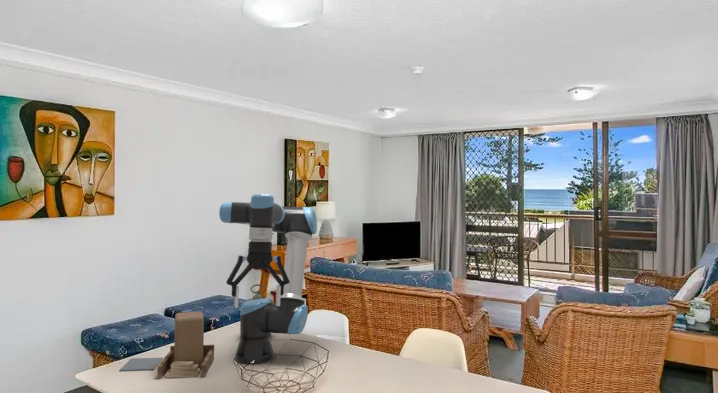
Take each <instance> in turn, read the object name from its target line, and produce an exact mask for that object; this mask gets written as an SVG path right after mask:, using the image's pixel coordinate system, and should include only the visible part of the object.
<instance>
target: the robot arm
mask: <svg viewBox="0 0 718 393" xmlns="http://www.w3.org/2000/svg"><path fill="white" fill-rule="evenodd" d="M250 198H251V199H250V202H237V201H234V202H233V201H230V202H228V201H224V202H223V203H221V204H220V207H219V211H218V212H219V219H220V221H221V222H222V223H224V224H225V223H226V224H240V225H247V226H249V231H248V232H249V234H248V240H250V241H249V242H248V248H247V250H248V253H247V256H243V255H241V254H240V255H238V256H237V261H236V263H235V265H234V267H233V269H232V270H231V272H230V274H229V276H228V278H227V279H226V284H227V285H229V286H231V297H234V303H233V304H234V305H233V306H234V308H235V309H237V308H239V297H240V295H239V294H240V293H239V292H240V286H238V285H239V284H240V283H241V281H243V279H244V278H245V277H246V276H247V275H248V274H249V273H250V272H251V271H252V270H256V271H257V270H267V271H268V272H269V273H270V275H271V276H272V277H273V279H274V280H275V281H276V283H277V284H278V285H276V290H275V291H276V293H275V296H276V297H275V303H274V302H273V303H270V302H271V301H270V299H271V298H268V299H266V298H267V297H266V298H264V297H263V299H255V300H250V301H247V302H245V301H244V302H245V303H244V302H243V303H242V304H241V306H240V313H239V315H240V321H239V322H240V324H239V327H240V328H239V331H240V332H239V333H240V335H239V336H240V337H239V342H238V345H237V347H236V350H235V354H234V357H235V358H234V360H235V361H236V362H238V363H241V364H244V365H245V364H246V365H249V364H248V363H250V362H252V361H253V360H255V361H254V364H253V365H255V364H262V363H267V362H269V361H271V360H272V359H273V358H274V348H273V345H272V342H271V338H270V337H269V333H271V334H282V335H283V334H284V335H289V336H290V335H299V334H301V333H302V332H303V331H304V328H305V327H306V324H307V321H308V320H307V319H308V312H309V307H308V305H306V304H305V302H306V301H305V299H304V298H303V297H302V296H303V295H302V294H303V287H304V277H305V269H306V268H305V267H306V260H307V259H306V258H307V251H308V243H309V242H310V240H312V239H313V238H312V237H313V235H315V234H317V232H318V220H317V215H316V211H315V209H314V208H312V207H305V206H282V205H280V204H278V203H277V202H275V197H274V196H273V195H271V194H267V193H266V194H263V193H262V194H261V193H256V194H253V195H252V196H251V197H250ZM273 232H274V233H278V234H284V236H285V237H286V239H287V244H286V245H287V246H286V251H285V261H284V266H283V263H282V256H280V255H276V256H273V255H272V252H273V250H272V249H273V243H272V242H271V241H272V240H273ZM245 261H247V263H248V264H247V265H246V267H245V268H244V269H243V271H241V273H239V275H238V276H237V274H238V272H239V270H240V268H241V266H242V264H244V263H245ZM272 261H273V262H274V263H275V264H276V267H277V268H278V271H279V272H280V273H279V274H280V275H281V277H280V276H279V275H278V274H277V272H276V271H275V270H274V268H273V267H272V266H271V263H272Z"/></svg>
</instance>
